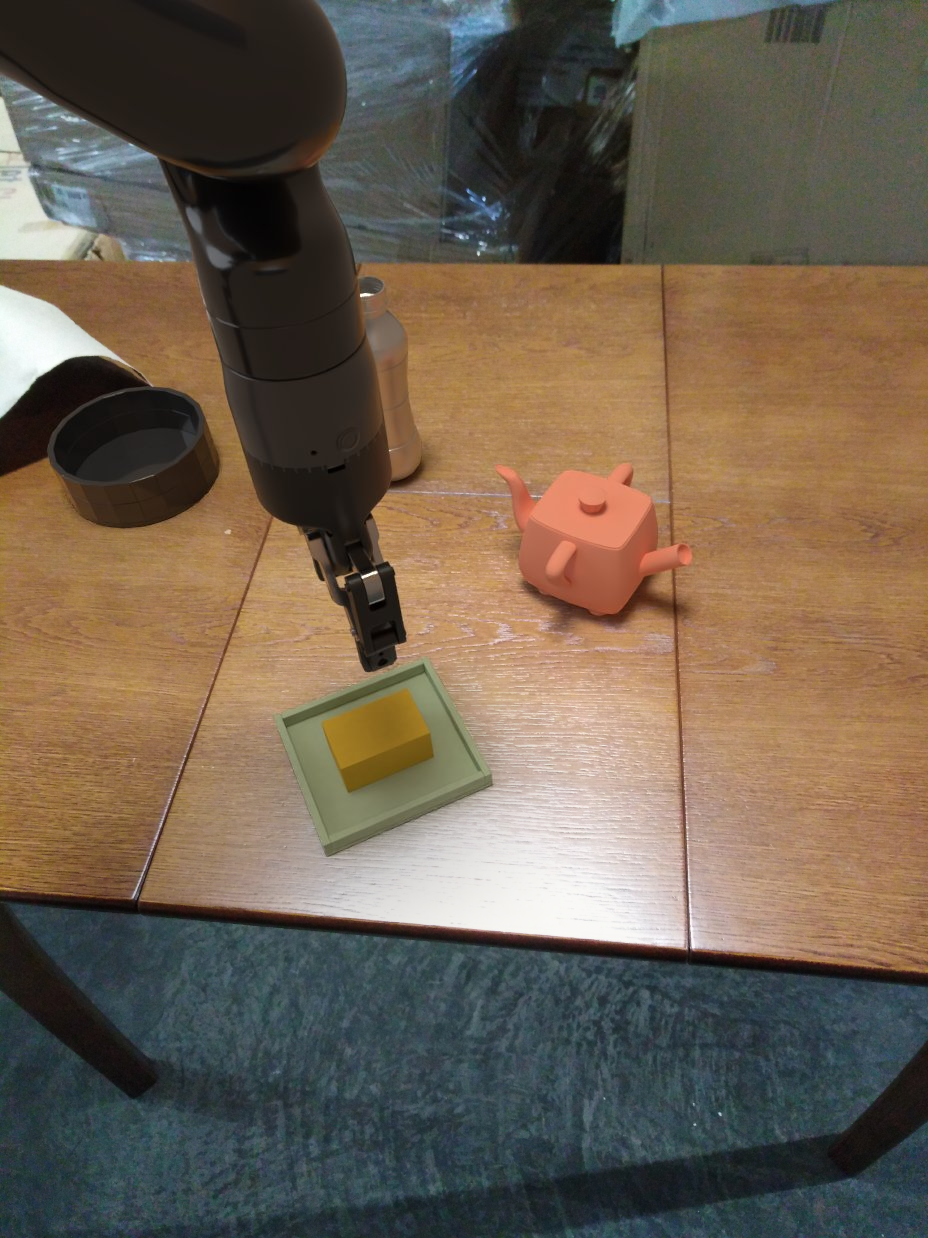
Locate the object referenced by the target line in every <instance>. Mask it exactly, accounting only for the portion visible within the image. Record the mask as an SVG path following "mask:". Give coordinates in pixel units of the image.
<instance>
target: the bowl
mask: <svg viewBox="0 0 928 1238" xmlns="http://www.w3.org/2000/svg"><path fill="white" fill-rule="evenodd" d="M46 452H47V457H48V462H49V465H50V467H51V468H52V470H53V472H54V475H55V477H56V478H57V480H58V482H59V484H60V485H61V488H62V489H63V491H64V494H65V495H66V496H67V498H68V501H69V502H70V504H71V505H72V506H73V507H74V509H75V510H76V512H77V513H79V515H81V516H82V517H83V518H85V519H86V520H88V521H90V522H91V523H94V524H98V525H101V526H105V527H110V528H137V527H143V526H148V525H153V524H156V523H159V522H163V521H165V520H168V519H170V518H173V517H175V516H178V515H179V514H181V513H182V512H184V511H186V510H188V509H189V508H190V507H192V506H193V505H196V503H198V501H200V500H201V499H202V498H203V497H204V496H205V495H206V494H207V493H208V491H210V489H211V487H212V486H213V485H214V482H215V480H216V479H217V476H218V473H219V468H220V461H219V454H218V450H217V448H216V445H215V441H214V439H213V436H212V433H211V430H210V427H209V424H208V421H207V418H206V416H205V413H204V411H203V409H202V407H201V405H200V403H199V402H197V401H196V400H195V399H194V398H193V397H192V396H190V394H188V393H185V392H182V391H180V390H177V389H174V388H171V387H164V386H163V387H162V386H152V385H148V386H138V387H137V386H136V387H129V388H123V389H119V390H116V391H112V392H109V393H105V394H102V395H99V396H98V397H95V398H93V399H92V400H89V401H88V402H85V403H84V404H83V403H82V404H81V405H80V406H79V407H77V408H76V409H75V410H73V411H72V412H70V413H69V414H68V415H66V416H65V417H64V418H63V419H62V420H61V422H60V423H59V424H58V426H57V427H56V428H55V429H54V431H53V432H52V433H51V435H50V438H49V442H48V445H47V449H46Z"/></svg>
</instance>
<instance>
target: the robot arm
mask: <svg viewBox="0 0 928 1238" xmlns="http://www.w3.org/2000/svg"><path fill="white" fill-rule="evenodd" d="M0 76H2V77H4V78H6V79H9V80H11V81H13V82H15V83H17V84H18V85H21V86H22V87H24V88H26V89H27V90H29V91H31V92H33V93H35V94H37V95H38V96H40V97H42V98H43V99H45V100H47V101H49V102H51V103H52V104H54V105H55V106H57V107H59V108H61V109H62V110H65V111H67V112H69V113H71V114H73V115H74V116H76V117H78V118H80V119H82V120H84V121H86V122H88V123H89V124H92V125H93V126H96V127H97V128H99V129H101V130H103V131H105V132H107V133H109V134H111V135H113V136H115V137H117V138H119V139H121V140H123V141H125V142H127V143H129V144H130V145H132V146H135V147H136V148H138V149H141V150H142V151H145V152H146V153H148V154H151V155H153V156H155V157H156V159H157V161H158V163H159V165H160V168H161V171H162V173H163V176H164V178H165V182H166V184H167V186H168V189H169V192H170V193H171V196H172V199H173V201H174V204H175V206H176V209H177V212H178V214H179V216H180V220H181V222H182V224H183V227H184V231H185V233H186V237H187V240H188V245H189V248H190V252H191V253H190V254H191V256H192V260H193V261H192V262H193V265H194V269H195V274H196V279H197V284H198V289H199V292H200V296H201V300H202V303H203V306H204V309H205V313H206V316H207V319H208V322H209V326H210V330H211V333H212V336H213V339H214V342H215V346H216V349H217V352H218V356H219V361H220V365H221V371H222V378H223V385H224V393H225V396H226V400H227V403H228V407H229V410H230V413H231V417H232V419H233V423H234V426H235V429H236V433H237V435H238V439H239V443H240V445H241V449H242V452H243V455H244V459H245V462H246V465H247V470H248V472H249V474H250V478H251V481H252V485H253V488H254V491H255V494H256V497H257V499H258V502H259V503H260V505H261V506H262V507H263V509H264V510H265V511H266V512H267V513H268V514H270V515H271V516H272V517H274V518H275V519H277V520H278V521H280V522H282V523H285V524H288V525H290V526H295V527H296V528H297V531H298V534H299V536H304V540H305V543H306V545H307V548H308V551H309V553H310V557H311V560H312V563H313V567H314V571H315V574H316V576H317V578H318V579H319V581H320V582H325V585H326V588H327V590H328V593H329V596H330V598H331V600H332V601H333V602H334V603H335V604H336V605H337V606H339V607H343V609H344V612H345V615H346V618H347V621H348V623H349V626H350V628H349V632H350V635H351V636H352V638H353V639H354V643H355V648H356V652H357V655H358V659H359V663H360V666H361V667H362V669H363V671H364V672H365V673H375V672H377V671H380V670H382V669H385V668H388V667H389V666H392V665H394V664H395V662H396V661H397V659H398V656H397V650H396V646H397V645H402V644H404V643H406V642H407V630H406V627H405V624H404V623H405V622H404V618H403V612H402V607H401V601H400V597H399V591H398V587H397V582H396V571H395V569H394V566H392V565H391V564H390V562H389V561H388V560H386V561H384V557H383V554H382V552H381V549H380V546H379V540H380V532H379V529H378V526H377V524H376V520H375V518H374V515H373V513H372V511H373V510H374V509H375V507H376V506H378V504H379V503H380V502H381V501H382V500H383V498H384V497H385V495H386V494H387V492H388V490H389V488H390V485H391V483H392V481H391V477H392V467H391V460H390V453H389V447H388V440H387V433H386V426H385V420H384V413H383V407H382V400H381V393H380V386H379V379H378V374H377V368H376V364H375V360H374V356H373V353H372V350H371V347H370V344H369V341H368V337H367V333H366V328H365V322H364V315H363V309H362V302H361V296H360V289H359V283H358V277H359V276H358V271H357V265H356V260H355V255H354V250H353V247H352V244H351V241H350V237H349V234H348V232H347V228H346V226H345V224H344V221H343V219H342V217H341V215H340V214H339V212H338V210H337V208H336V206H335V205H334V203H333V201H332V199H331V197H330V196H329V194H328V192H327V189H326V186H325V184H324V181H323V178H322V173H321V171H320V166H319V161H320V160H322V158H323V157H324V156H325V154H326V153H327V152H328V151H329V149H330V148H331V146H332V145H333V143H334V142H335V140H336V138H337V136H338V134H339V131H340V129H341V127H342V123H343V120H344V118H345V113H346V110H347V109H346V108H347V102H348V100H347V99H348V78H347V68H346V62H345V58H344V54H343V50H342V47H341V45H340V41H339V38H338V36H337V34H336V31H335V29H334V27H333V26H332V24H331V21H330V20H329V18H328V16H327V14H326V12H325V11H324V9H323V8H322V5H320V3H319V2H318V1H317V0H0ZM343 576H344V577H343ZM339 577H343V579H344V585H343V586H344V587H341V586H340V585H339V582H338V579H337V578H339Z"/></svg>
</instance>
